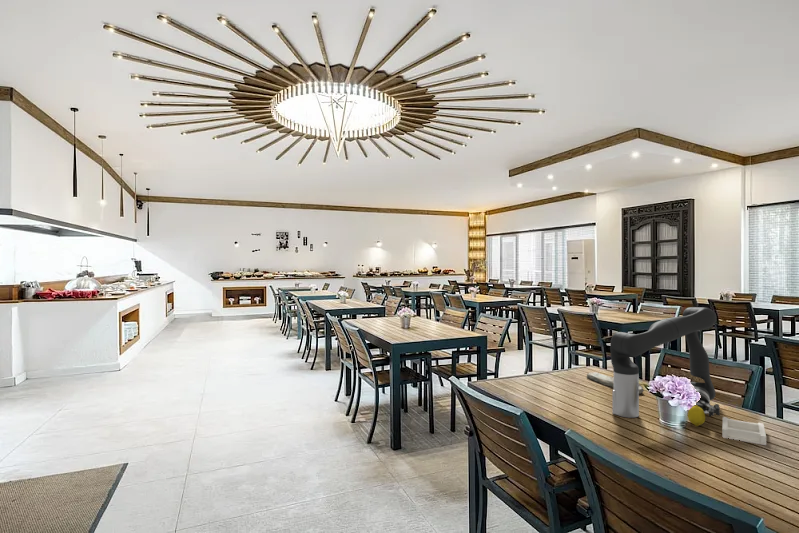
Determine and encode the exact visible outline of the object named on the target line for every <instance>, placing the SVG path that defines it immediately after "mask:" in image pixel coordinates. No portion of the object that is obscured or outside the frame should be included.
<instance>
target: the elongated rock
mask: <svg viewBox="0 0 799 533" xmlns="http://www.w3.org/2000/svg"><path fill="white" fill-rule="evenodd" d="M586 378H587V379H590V380H592V381H594V382H596V383H599V384H600V385H604V386H606V387H607V386H608V387H611V388H613V389H614V376H613V377H612V376H611V375H610V376H609V375H605V374H602V373H599V372H596V371H595V372H594V371H592V372H588V373H587V374H586ZM643 393H644V387H643V386H642V385H641V384H640V383H639V394H643Z"/></svg>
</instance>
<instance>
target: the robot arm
mask: <svg viewBox="0 0 799 533" xmlns="http://www.w3.org/2000/svg"><path fill="white" fill-rule="evenodd" d="M716 322H717V314H716V312H715V311H714V310H712V309H711V308H709V307H703V306H702V307H700V306H699V307H698V306H696V307H695V306H692V307H687V308H685V309H684V310H683V313H682V316H681V315H680V316H673V317H668V318H664V319H661V320H657V321H656V322H654V323H652V324H651V325H650V326H649V328H648V330H647V331H645V332H641V333H637V334H635V333H628V332H624V331H623V332H622V331H617V332H615V333H614V334H613V335H612V337H611V339H610V346H609V348H610V359H611V360H610V361H611V362H610V363H611V366H612V368H613V378H614V388H613V389H612V398H611V399H612V400H611V401H612V414H613V415H616V416H619V417H623V418H629V419H630V418H638V417H639V416H640V393H639V384H640V383H639V381H640V380H639V379H640V378H639V377H640V376H639V371H640V370H639V366H638V365H637V364H636V363H634V362H633V360H632V359H631V358H636V357H639V356H641V355H643V354H644V353H646V352H648V351H649V350H651V349H654V348H656V347H659V346H662V345H664V344H667V343H670V342H672V341H676V340H677V339H680V338H682V337H685V340H686V342H687V348H688V354H689V374H690V375H691V376H692V377H696V378H698V379H699V378H700V379H701V380H703V381H704V382H698V381H697V382H696V381H690V382H691V384H692V385H693V386H694V387H695V389H696V391H697V392H699V393H700V395H701V398H700V400H699V401H698V402H697V403H696V405H697V406H698V407H700V408H702V409H703V411H704V413H705V415H706V414H708V417H709V418H711V417H713V416H714V415H717V416H720V404H718V403H714V404H713V405H711V401H712V400H714V399H715V398H716V389H715V387H714V384H713V382H712V378H711V373H710V372H711V371H710V359H709V358H710V357H709V355H708V353H707V350H706V349H705V348H704V345H703V344H702V343H701V341H700V337H699V333H698V331H702V330H707V329H710V328H712V327H713V326H714V325H715V324H716Z"/></svg>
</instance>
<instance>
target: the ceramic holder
mask: <svg viewBox="0 0 799 533" xmlns="http://www.w3.org/2000/svg"><path fill="white" fill-rule="evenodd" d="M764 424H765V423H764V422H758V423H757V422H752V421H744V420H743V421H742V420H737V419H732V418H731V419H730V418H728V417H725V416H722V427H721V428H722V429H721V432H722V433H721V434H722V437H723V438H722V439H728V438H729V439H730V440H733V439H734V441H739V440H740V442H745V443H751V444H755V445H756V444H757V445H763V446H767V435H766V430H765V425H764Z"/></svg>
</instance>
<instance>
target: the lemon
mask: <svg viewBox="0 0 799 533" xmlns="http://www.w3.org/2000/svg"><path fill="white" fill-rule="evenodd" d="M687 418H688V421H689V422H690V423H691V424H692V425H694V426H695V427H699V426H702V425H703V424H704V423H705V422H706V413H704V411H703V409H702V408H700V407H698V406H697V405H695V406H693V407H692V408H691V409H690V410H689V411H688V410H687Z"/></svg>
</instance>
